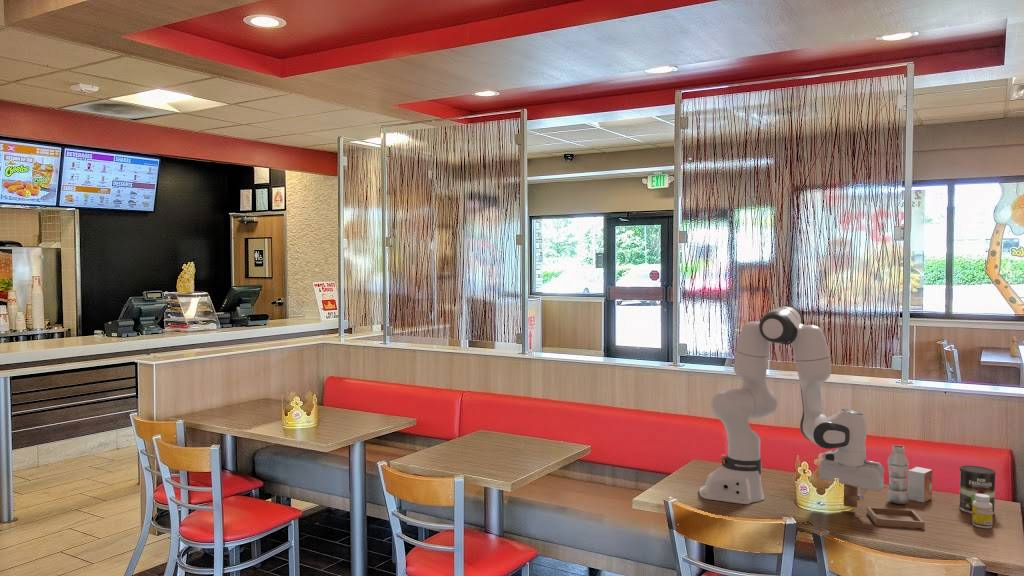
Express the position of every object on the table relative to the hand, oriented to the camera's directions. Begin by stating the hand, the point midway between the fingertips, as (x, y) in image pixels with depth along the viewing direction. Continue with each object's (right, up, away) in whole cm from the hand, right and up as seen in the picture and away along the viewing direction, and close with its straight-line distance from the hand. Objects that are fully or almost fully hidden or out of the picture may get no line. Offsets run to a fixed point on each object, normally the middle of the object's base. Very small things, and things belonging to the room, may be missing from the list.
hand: (850, 498), depth 246 cm
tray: (+10, -5, -9) cm, 15 cm away
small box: (+31, -5, +13) cm, 34 cm away
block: (0, -2, 0) cm, 2 cm away
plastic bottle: (+21, -5, +9) cm, 23 cm away
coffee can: (+44, -5, +1) cm, 44 cm away
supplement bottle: (+36, -5, -13) cm, 39 cm away
